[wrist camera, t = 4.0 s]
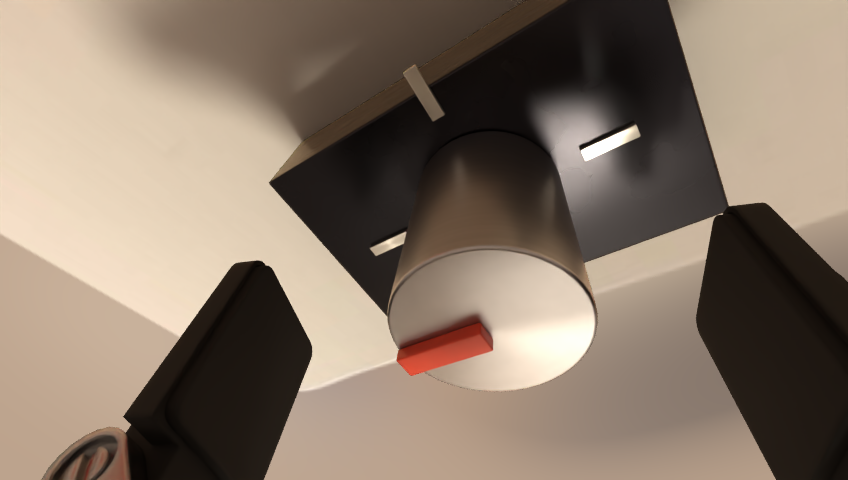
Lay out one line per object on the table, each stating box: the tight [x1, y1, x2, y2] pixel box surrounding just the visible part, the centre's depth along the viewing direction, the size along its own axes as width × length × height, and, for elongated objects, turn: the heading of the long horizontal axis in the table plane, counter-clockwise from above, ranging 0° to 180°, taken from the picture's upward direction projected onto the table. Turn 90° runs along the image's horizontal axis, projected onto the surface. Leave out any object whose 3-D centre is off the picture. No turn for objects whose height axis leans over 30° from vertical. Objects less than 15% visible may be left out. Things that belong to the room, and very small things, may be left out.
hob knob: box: [387, 131, 598, 392], centre depth 10 cm, size 4×4×5 cm
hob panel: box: [269, 0, 729, 317], centre depth 14 cm, size 11×8×3 cm
